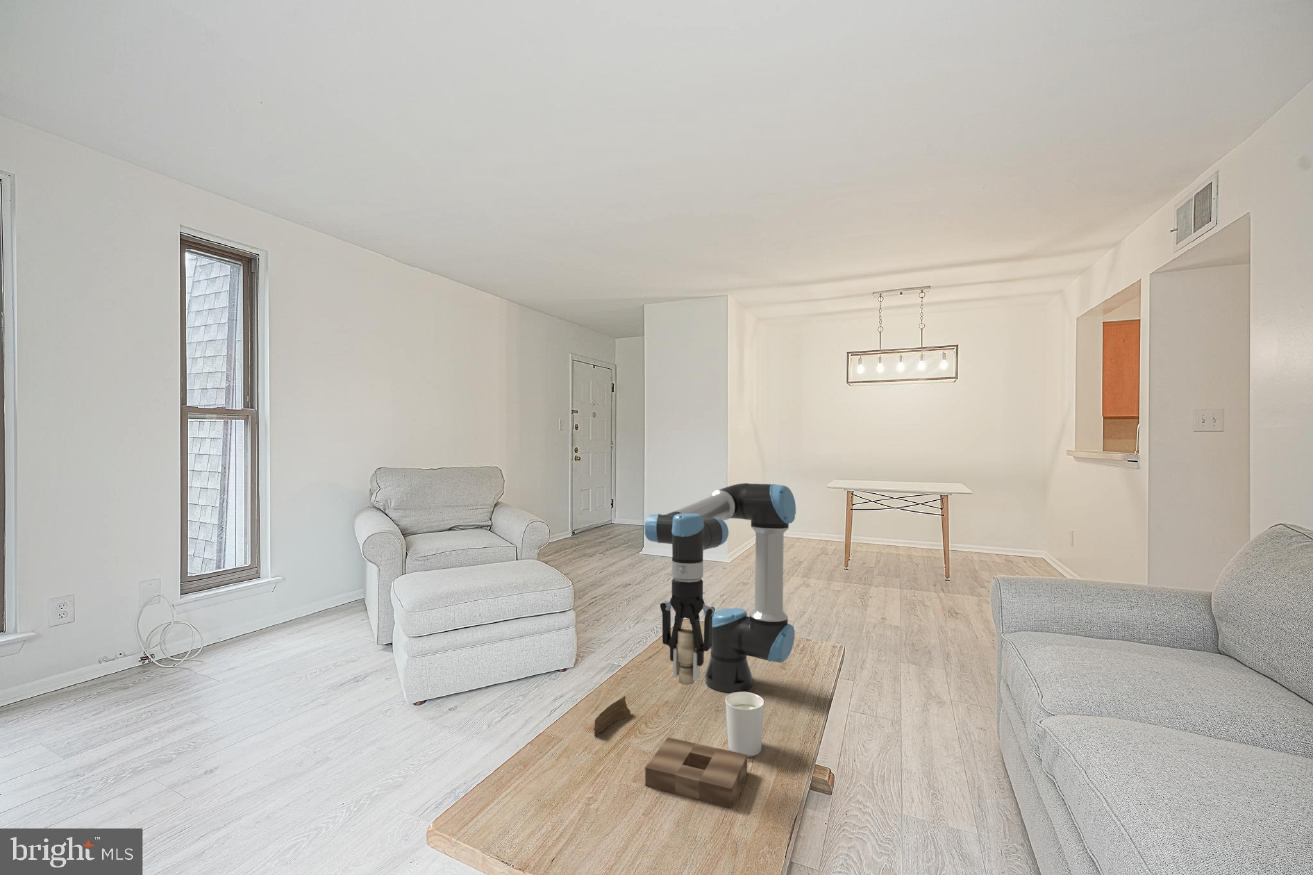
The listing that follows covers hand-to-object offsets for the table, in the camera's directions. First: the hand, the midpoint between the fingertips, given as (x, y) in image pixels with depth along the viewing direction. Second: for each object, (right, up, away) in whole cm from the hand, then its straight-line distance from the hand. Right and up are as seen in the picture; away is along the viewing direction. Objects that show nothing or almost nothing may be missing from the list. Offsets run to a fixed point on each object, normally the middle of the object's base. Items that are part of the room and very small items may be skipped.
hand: (686, 676), depth 131 cm
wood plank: (-19, -22, +20) cm, 35 cm away
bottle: (0, -1, 0) cm, 1 cm away
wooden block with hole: (+2, -21, -5) cm, 22 cm away
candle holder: (+15, -22, +8) cm, 28 cm away
